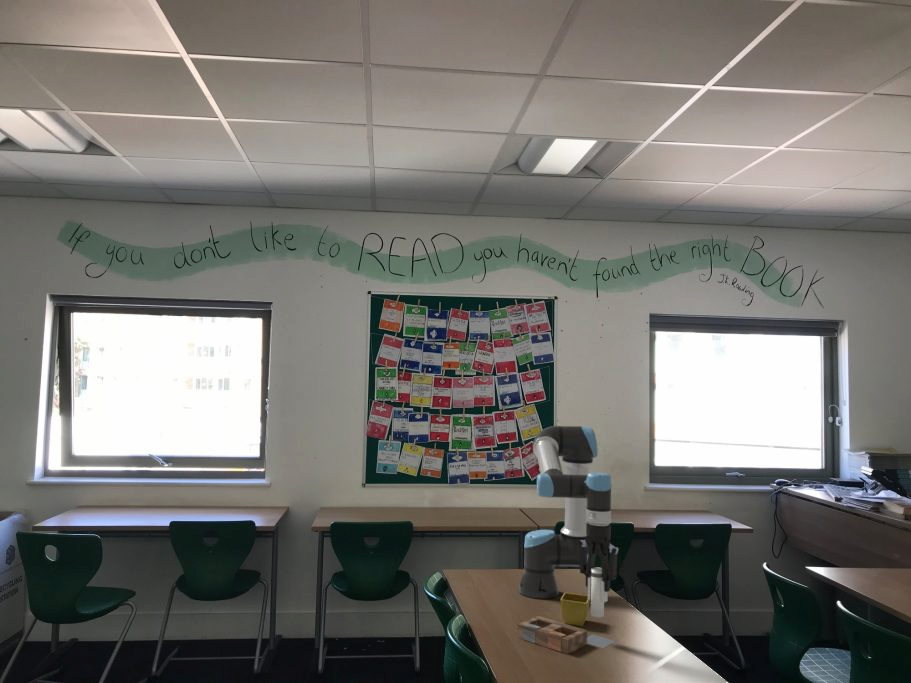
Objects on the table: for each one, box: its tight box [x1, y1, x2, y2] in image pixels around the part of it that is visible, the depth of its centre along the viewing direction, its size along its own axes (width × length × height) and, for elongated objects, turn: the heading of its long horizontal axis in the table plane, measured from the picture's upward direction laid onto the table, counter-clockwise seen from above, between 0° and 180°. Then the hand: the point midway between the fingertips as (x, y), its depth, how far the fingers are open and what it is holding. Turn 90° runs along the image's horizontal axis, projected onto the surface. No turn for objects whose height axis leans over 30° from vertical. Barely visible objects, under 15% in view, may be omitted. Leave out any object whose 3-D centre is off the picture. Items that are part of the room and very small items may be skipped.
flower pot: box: [560, 592, 591, 627], centre depth 218 cm, size 9×9×9 cm
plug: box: [590, 566, 605, 618], centre depth 202 cm, size 4×4×14 cm
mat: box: [587, 634, 616, 649], centre depth 200 cm, size 8×8×1 cm
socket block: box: [517, 615, 588, 655], centre depth 200 cm, size 11×18×5 cm, turn 48°
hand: (597, 599), depth 202 cm, fingers closed on plug, 4 cm apart
